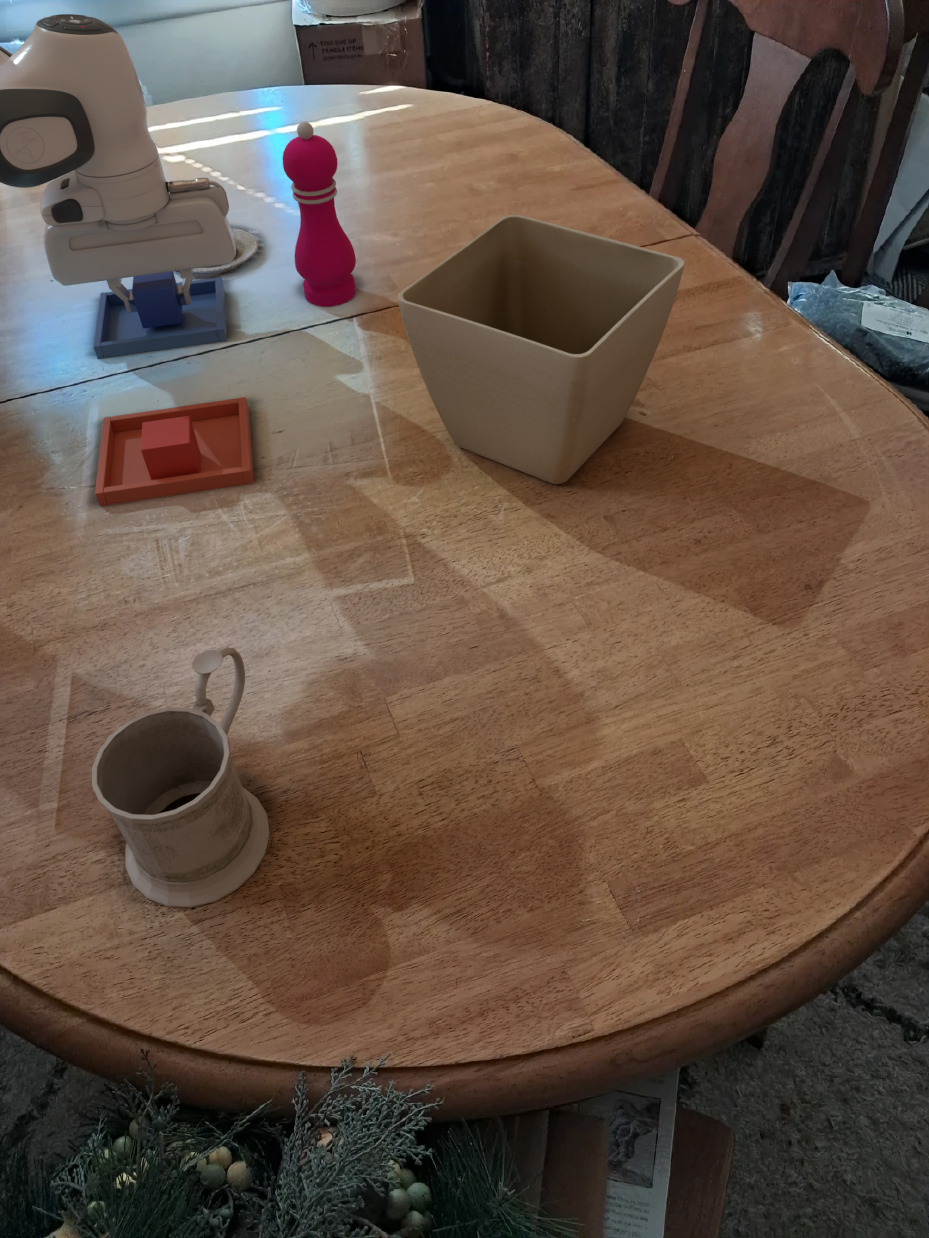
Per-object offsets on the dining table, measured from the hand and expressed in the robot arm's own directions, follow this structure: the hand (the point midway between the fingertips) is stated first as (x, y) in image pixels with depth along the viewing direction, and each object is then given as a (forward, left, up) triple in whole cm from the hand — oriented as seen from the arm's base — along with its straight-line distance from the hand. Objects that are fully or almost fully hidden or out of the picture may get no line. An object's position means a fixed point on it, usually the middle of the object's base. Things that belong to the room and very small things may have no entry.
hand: (159, 306), depth 116 cm
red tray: (+2, -27, -2) cm, 27 cm away
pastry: (+6, +16, -3) cm, 17 cm away
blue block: (0, 0, -1) cm, 1 cm away
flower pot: (+38, -32, -3) cm, 50 cm away
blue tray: (0, 0, -2) cm, 3 cm away
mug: (+5, -70, -3) cm, 70 cm away
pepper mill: (+20, +2, -3) cm, 20 cm away
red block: (+2, -30, -2) cm, 30 cm away
